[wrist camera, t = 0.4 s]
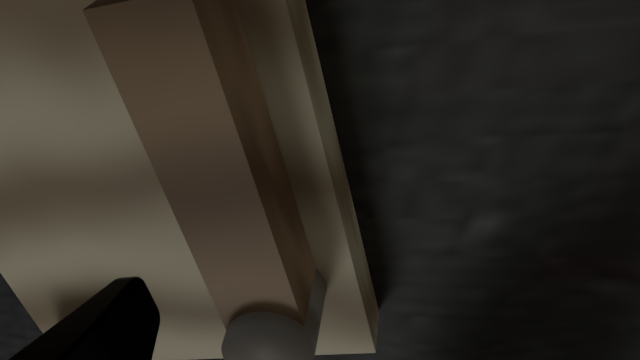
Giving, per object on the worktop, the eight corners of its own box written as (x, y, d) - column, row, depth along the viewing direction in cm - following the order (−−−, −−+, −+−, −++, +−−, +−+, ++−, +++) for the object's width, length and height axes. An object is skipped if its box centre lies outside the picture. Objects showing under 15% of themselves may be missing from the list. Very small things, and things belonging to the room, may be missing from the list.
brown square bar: (333, 312, 25) (322, 385, 22) (257, 315, 25) (237, 386, 22) (228, -45, 17) (187, -5, 14) (123, -22, 18) (63, 19, 15)
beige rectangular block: (378, 310, 28) (371, 413, 23) (87, 326, 32) (32, 417, 27) (275, -125, 18) (227, -90, 13) (-136, -26, 22) (-281, 27, 17)
